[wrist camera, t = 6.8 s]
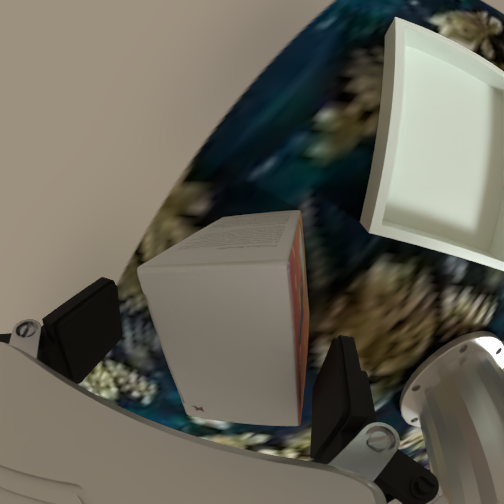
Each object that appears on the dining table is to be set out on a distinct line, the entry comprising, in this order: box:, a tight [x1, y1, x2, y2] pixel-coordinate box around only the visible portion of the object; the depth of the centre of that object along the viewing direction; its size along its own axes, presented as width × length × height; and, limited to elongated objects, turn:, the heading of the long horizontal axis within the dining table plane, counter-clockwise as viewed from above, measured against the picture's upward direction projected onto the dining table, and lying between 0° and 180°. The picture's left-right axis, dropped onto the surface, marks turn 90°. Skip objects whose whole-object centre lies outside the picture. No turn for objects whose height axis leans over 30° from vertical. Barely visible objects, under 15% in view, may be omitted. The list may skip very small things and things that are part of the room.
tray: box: [360, 17, 504, 271], centre depth 12 cm, size 12×14×3 cm
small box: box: [137, 210, 309, 426], centre depth 14 cm, size 8×6×10 cm
